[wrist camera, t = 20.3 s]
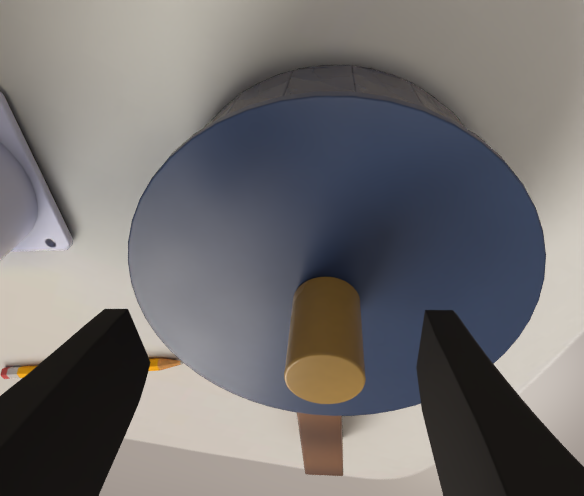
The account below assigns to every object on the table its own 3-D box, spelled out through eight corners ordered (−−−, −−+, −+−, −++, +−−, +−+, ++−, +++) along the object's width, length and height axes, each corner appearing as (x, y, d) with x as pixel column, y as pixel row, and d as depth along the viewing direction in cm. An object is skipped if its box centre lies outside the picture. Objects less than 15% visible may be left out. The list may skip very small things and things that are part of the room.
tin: (216, 323, 24) (191, 398, 20) (149, 77, 16) (86, 119, 12) (458, 323, 22) (486, 405, 18) (515, 50, 14) (585, 88, 10)
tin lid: (189, 392, 21) (157, 486, 17) (78, 101, 12) (-29, 163, 9) (489, 399, 19) (525, 505, 15) (594, 65, 11) (730, 124, 7)
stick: (342, 439, 30) (343, 476, 28) (307, 438, 30) (305, 474, 28) (339, 350, 24) (340, 388, 22) (296, 350, 25) (293, 387, 23)
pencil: (4, 365, 28) (-2, 373, 28) (185, 353, 26) (182, 362, 25) (11, 372, 29) (4, 380, 28) (189, 362, 26) (186, 370, 26)
